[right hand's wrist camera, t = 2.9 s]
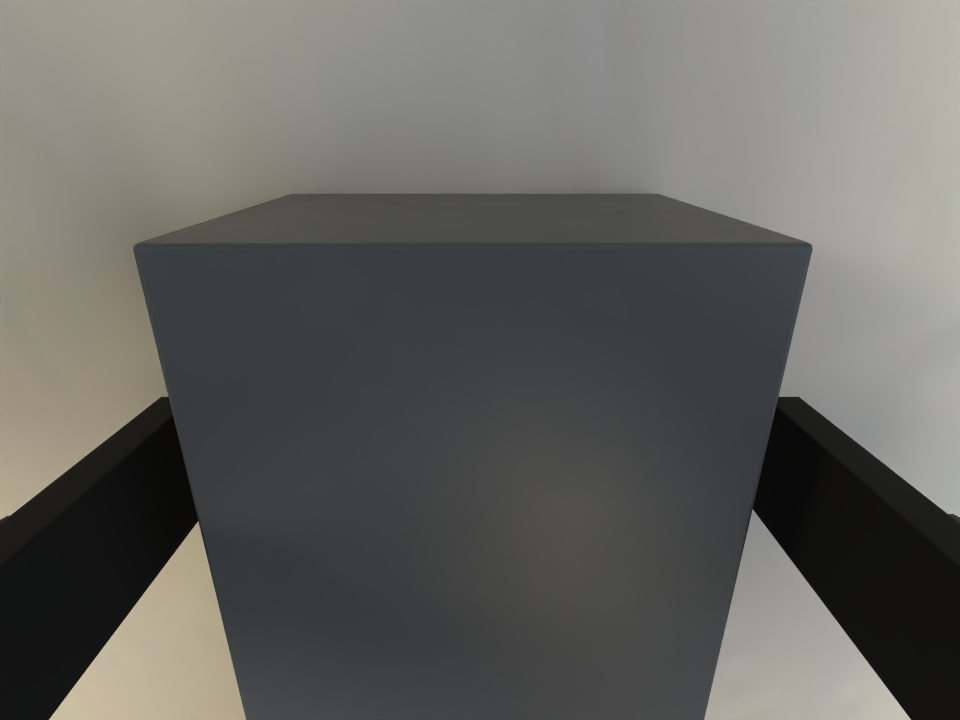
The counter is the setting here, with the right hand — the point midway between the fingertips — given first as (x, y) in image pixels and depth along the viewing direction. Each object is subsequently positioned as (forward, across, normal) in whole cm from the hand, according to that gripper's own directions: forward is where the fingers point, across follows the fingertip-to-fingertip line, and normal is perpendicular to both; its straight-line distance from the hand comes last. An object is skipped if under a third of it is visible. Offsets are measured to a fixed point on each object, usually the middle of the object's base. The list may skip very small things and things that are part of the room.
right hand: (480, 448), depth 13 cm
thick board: (+3, 0, -24) cm, 24 cm away
